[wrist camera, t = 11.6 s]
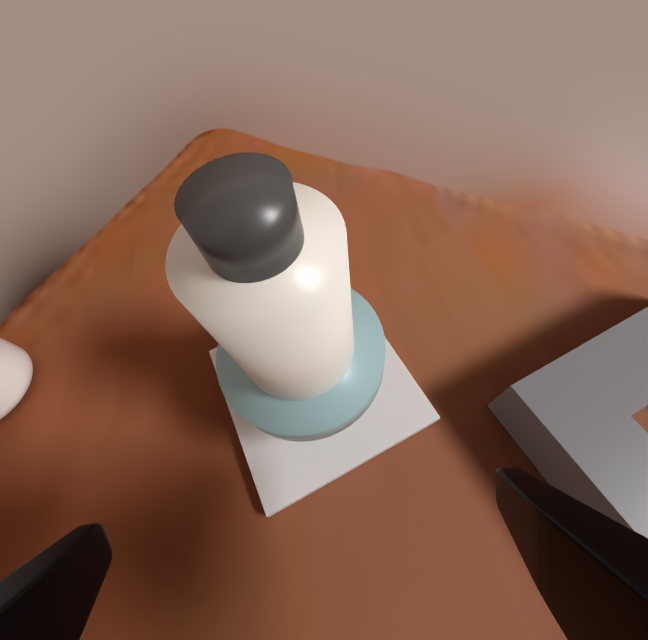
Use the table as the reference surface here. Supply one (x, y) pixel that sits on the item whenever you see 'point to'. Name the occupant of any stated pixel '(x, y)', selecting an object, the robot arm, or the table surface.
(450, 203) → the table surface
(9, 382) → the drinking glass
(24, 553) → the table surface
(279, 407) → the capped white bottle
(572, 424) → the socket block
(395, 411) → the rest pad
